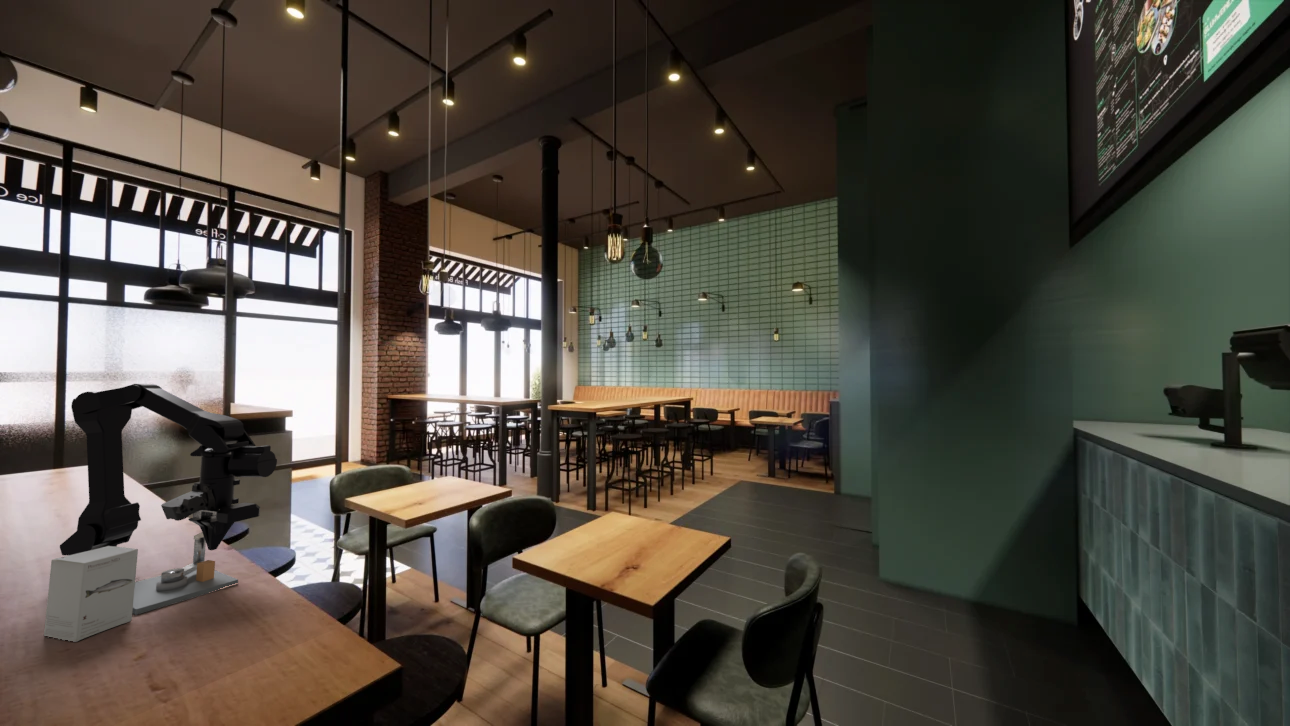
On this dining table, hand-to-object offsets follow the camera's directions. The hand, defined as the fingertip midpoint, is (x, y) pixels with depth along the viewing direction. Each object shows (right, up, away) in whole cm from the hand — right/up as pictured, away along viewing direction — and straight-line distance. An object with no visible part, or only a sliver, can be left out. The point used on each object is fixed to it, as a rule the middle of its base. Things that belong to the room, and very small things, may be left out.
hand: (212, 549), depth 100 cm
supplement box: (-1, -5, -21) cm, 22 cm away
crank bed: (-2, -6, -6) cm, 9 cm away
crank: (-2, -3, -4) cm, 6 cm away
